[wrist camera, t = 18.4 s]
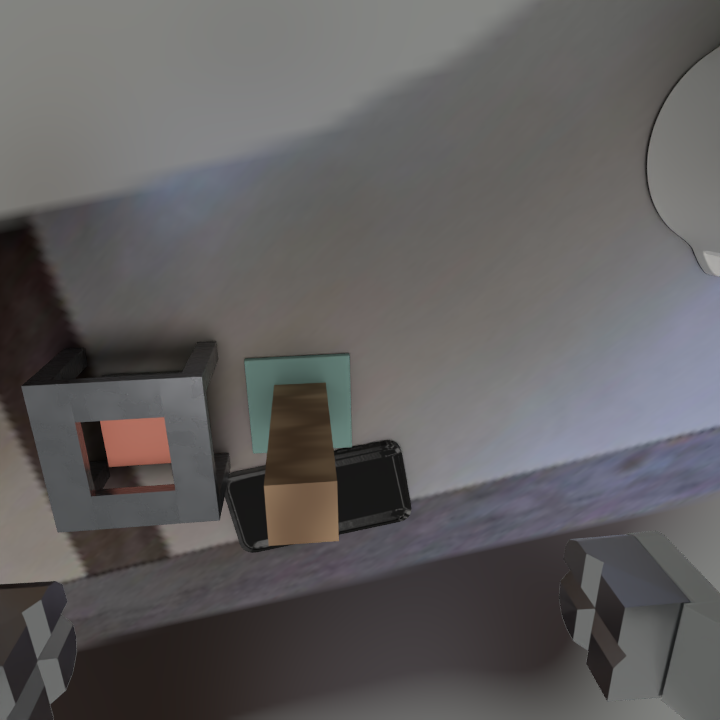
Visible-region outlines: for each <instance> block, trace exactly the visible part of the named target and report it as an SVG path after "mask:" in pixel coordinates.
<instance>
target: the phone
mask: <svg viewBox="0 0 720 720" xmlns="http://www.w3.org/2000/svg"><path fill="white" fill-rule="evenodd" d="M334 458H335V467H336V476H337V495H338V531H339V535H340V534H344V533H349V532H354V531H358V530H363V529H368V528H372V527H377V526H382V525H386V524H391V523H396V522H400V521H403V520H405V519H406V518H408V517H409V515H410V513H411V503H410V498H409V492H408V486H407V480H406V474H405V469H404V463H403V457H402V453H401V450H400V447H399V445H398V444H397V443H395V442H394V441H390V440H385V441H380V442H375V443H370V444H366V445H361V446H356V447H351V448H345V449H340V450H337V451H334ZM265 470H266V465H265V466H260V467H255V468H250V469H246V470H241V471H236V472H233V473H230V474H229V478H228V483H227V487H226V492H225V498H226V502H227V505H228V508H229V511H230V514H231V517H232V521H233V524H234V527H235V530H236V533H237V536H238V539H239V543H240V545H241V547H242V548H243V549H244V550H245V551H248V552H252V553H253V552H260V551H265V550H269V549H274V548H279V547H283V546H288V545H275V546H269V543H268V531H267V518H266V506H265V493H264V480H265ZM289 545H293V544H289Z"/></svg>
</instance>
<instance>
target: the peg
mask: <svg viewBox="0 0 720 720" xmlns="http://www.w3.org/2000/svg"><path fill="white" fill-rule="evenodd" d="M264 493H265V506H266V518H267V531H268V543H269V546H275V545H289V544H302V543H316V542H330V541H339V531H338V495H337V476H336V467H335V458H334V450H333V441H332V432H331V424H330V415H329V406H328V397H327V389H326V383H305V384H284V385H274V391H273V401H272V411H271V420H270V430H269V440H268V450H267V460H266V470H265V480H264Z"/></svg>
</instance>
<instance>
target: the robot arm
mask: <svg viewBox="0 0 720 720" xmlns="http://www.w3.org/2000/svg"><path fill="white" fill-rule="evenodd" d="M647 176H648V184H649V190H650V194H651V197H652V200H653V203H654V205H655V207H656V209H657V211H658V213H659V215H660V216H661V218H662V219H663V221H664V222H665V223H666V224H667V226H668V227H669V228H670V229H671V230H672V231H674V232H675V233H676V234H677V235H679V236H680V237H681V238H683V239H684V240H685V241H686V242H687V243H688V244H689V245H690V246H691V247H692V248H693V251H694V253H695V256H696V258H697V260H698V262H699V264H700V266H701V268H702V269H703V271H704V272H705V273H706V274H708V275H711V276H718V277H720V46H719V47H718V48H717V49H715V50H714V51H712V52H711V53H709V54H708V55H706V56H705V57H704V58H703V59H701V60H700V61H699V62H698V63H696V64H695V65H694V66H693V67H692V68H691V69H690V70H689V71H688V72H687V73H686V74H685V75H684V76H683V78H682V79H681V80H680V81H679V82H678V84H677V85H676V86H675V88H674V89H673V90H672V92H671V93H670V95H669V96H668V98H667V100H666V102H665V103H664V105H663V107H662V109H661V111H660V113H659V116H658V118H657V120H656V123H655V126H654V129H653V132H652V135H651V140H650V144H649V150H648V158H647ZM563 559H564V561H565V563H566V564H567V566H568V567H569V569H570V571H569V572H568V573H567V574H566V575H565V576H564V577H563V579H562V580H561V581H560V590H559V601H560V608H561V615H562V617H563V620H564V623H565V626H566V628H567V630H568V632H569V634H570V636H571V637H572V640H573V641H575V642H576V643H577V644H579V645H580V646H582V647H583V648H585V649H586V650H588V655H587V662H586V665H587V667H588V668H589V670H590V672H591V674H592V675H593V677H594V679H595V680H596V683H597V684H598V686H599V688H600V690H601V691H602V693H603V694H604V697H605V698H606V700H607V701H608V702H609V701H622V700H635V699H647V698H660V697H662V699H661V701H663V702H664V703H665V704H666V705H668V706H669V707H670V708H671V709H673V710H674V711H675V712H676V713H677V714H679V715H680V716H681V717H682V718H684V719H685V720H720V593H719V592H718V591H717V590H716V589H715V588H714V587H713V585H712V584H711V583H710V582H709V581H708V580H707V579H706V578H705V577H704V576H703V575H702V574H701V573H700V572H699V571H698V570H697V569H696V568H695V567H694V566H693V564H691V562H690V561H689V560H688V559H687V558H686V557H685V556H684V555H683V554H682V553H681V552H680V551H679V550H678V549H677V548H676V547H675V546H674V545H673V544H672V542H670V540H669V539H668V538H667V537H666V536H665V535H664V534H662V533H660V532H658V531H648V532H639V533H629V534H627V535H615V536H605V537H604V536H603V537H592V538H581V539H570V540H569V541H568V543H567V545H566V547H565V552H564V558H563ZM67 602H68V601H67V598H66V595H65V591H64V588H63V585H62V584H60V583H58V582H56V581H52V582H35V583H18V584H1V585H0V720H53V719H54V717H53V714H52V710H51V706H50V704H51V703H52V702H53V701H54V700H55V699H56V698H58V697H59V696H60V695H61V694H62V693H63V692H65V691H66V689H67V686H68V684H69V681H70V678H71V676H72V674H73V670H74V664H75V658H76V653H77V646H76V634H75V629H74V625H73V623H71V622H70V621H69V620H68V619H66V618H65V617H64V616H63V615H61V614H62V612H63V610H64V608H65V606H66V604H67Z"/></svg>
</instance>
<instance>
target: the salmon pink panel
mask: <svg viewBox="0 0 720 720" xmlns="http://www.w3.org/2000/svg"><path fill="white" fill-rule="evenodd" d="M100 424H101V429H102V434H103V439H104V444H105V449H106V454H107V459H108V464H109V467H117V466H132V465H148V464H163V463H171V458H170V452H169V445H168V439H167V432H166V426H165V419H164V417H159V418H142V419H125V420H108V421H100Z"/></svg>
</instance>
